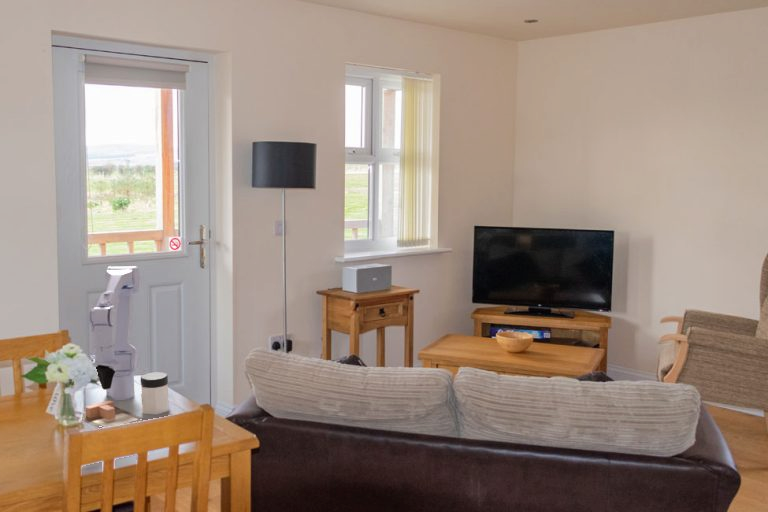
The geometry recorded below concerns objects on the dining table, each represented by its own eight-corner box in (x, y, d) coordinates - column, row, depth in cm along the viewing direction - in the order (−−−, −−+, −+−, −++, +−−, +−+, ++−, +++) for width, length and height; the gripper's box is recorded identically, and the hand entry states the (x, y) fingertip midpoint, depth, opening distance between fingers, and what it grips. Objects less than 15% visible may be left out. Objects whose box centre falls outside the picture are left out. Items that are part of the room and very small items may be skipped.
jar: (142, 409, 253) (140, 372, 251) (168, 406, 255) (167, 370, 253) (142, 418, 244) (140, 381, 243) (169, 416, 247) (168, 378, 245)
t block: (86, 416, 244) (85, 406, 243) (110, 409, 250) (109, 400, 249) (99, 422, 239) (98, 412, 238) (123, 415, 245) (123, 405, 244)
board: (71, 418, 245) (71, 414, 245) (110, 407, 255) (110, 404, 254) (105, 434, 232) (105, 430, 232) (144, 422, 242) (144, 418, 241)
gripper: (79, 344, 244) (82, 386, 246) (104, 352, 234) (107, 396, 237) (100, 339, 249) (103, 381, 251) (126, 347, 240) (128, 391, 242)
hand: (106, 388), depth 244 cm, fingers closed
